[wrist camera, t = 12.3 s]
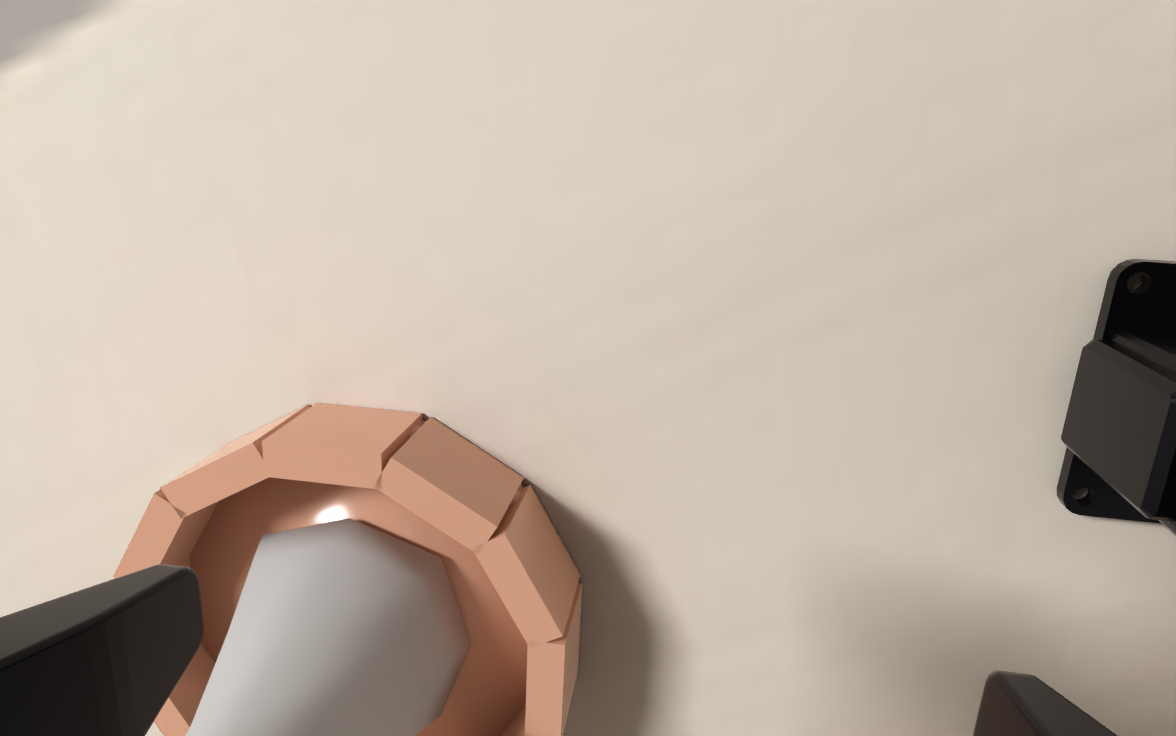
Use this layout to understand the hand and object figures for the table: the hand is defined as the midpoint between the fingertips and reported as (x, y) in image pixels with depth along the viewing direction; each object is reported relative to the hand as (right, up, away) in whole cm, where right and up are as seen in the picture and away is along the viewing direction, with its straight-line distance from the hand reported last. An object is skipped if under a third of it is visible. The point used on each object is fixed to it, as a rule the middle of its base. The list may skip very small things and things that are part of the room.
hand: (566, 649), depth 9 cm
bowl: (-6, -4, +16) cm, 18 cm away
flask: (-7, -4, +15) cm, 17 cm away
